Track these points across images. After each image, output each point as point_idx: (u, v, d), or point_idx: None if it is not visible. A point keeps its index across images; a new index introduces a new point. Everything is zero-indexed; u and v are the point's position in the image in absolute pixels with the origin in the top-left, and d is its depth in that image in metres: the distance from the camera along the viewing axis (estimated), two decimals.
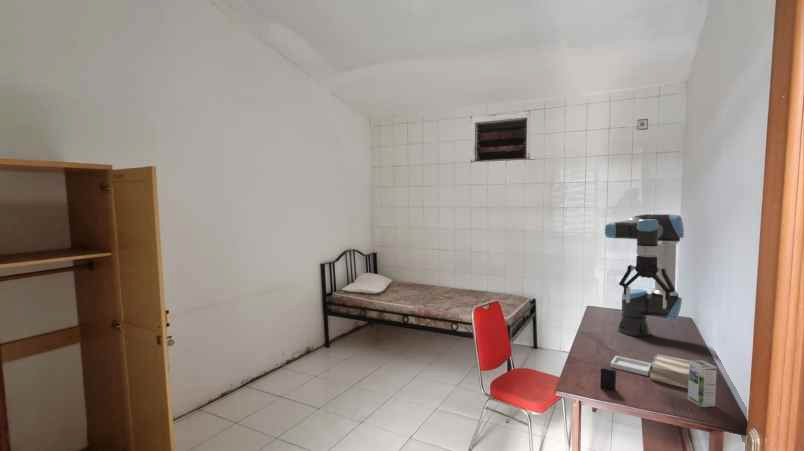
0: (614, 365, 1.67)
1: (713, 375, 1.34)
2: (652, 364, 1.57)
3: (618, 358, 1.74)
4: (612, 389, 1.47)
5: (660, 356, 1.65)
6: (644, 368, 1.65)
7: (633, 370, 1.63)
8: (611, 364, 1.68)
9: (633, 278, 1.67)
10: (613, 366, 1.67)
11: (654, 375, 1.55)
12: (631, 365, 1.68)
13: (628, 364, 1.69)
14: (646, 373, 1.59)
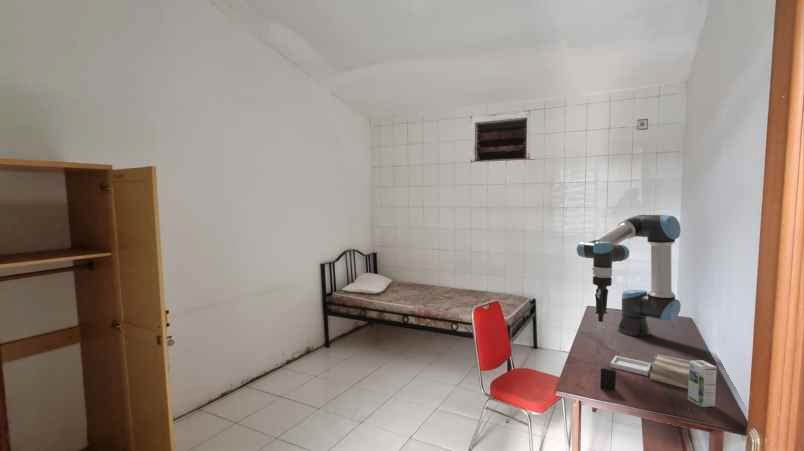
0: (614, 365, 1.67)
1: (713, 375, 1.34)
2: (652, 364, 1.57)
3: (618, 358, 1.74)
4: (612, 389, 1.47)
5: (660, 356, 1.65)
6: (644, 368, 1.65)
7: (633, 370, 1.63)
8: (611, 364, 1.68)
9: None
10: (613, 366, 1.67)
11: (654, 375, 1.55)
12: (631, 365, 1.68)
13: (628, 364, 1.69)
14: (646, 373, 1.59)
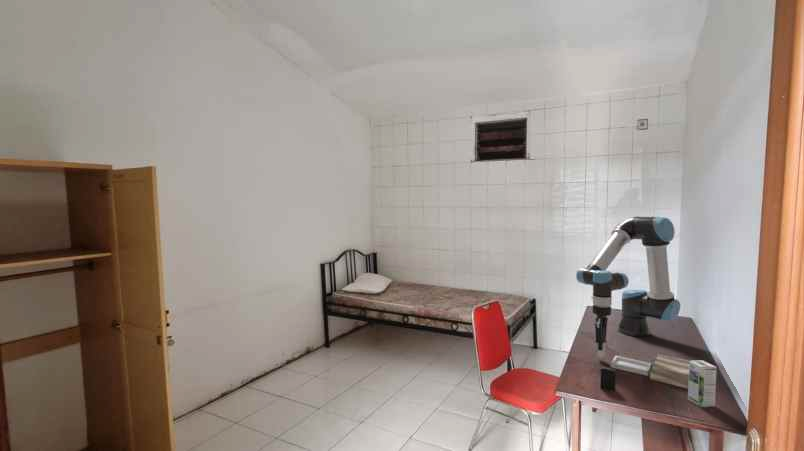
0: (614, 365, 1.67)
1: (713, 375, 1.34)
2: (652, 364, 1.57)
3: (618, 358, 1.74)
4: (612, 389, 1.47)
5: (660, 356, 1.65)
6: (644, 368, 1.65)
7: (633, 370, 1.63)
8: (611, 364, 1.68)
9: None
10: (613, 366, 1.67)
11: (654, 375, 1.55)
12: (631, 365, 1.68)
13: (628, 364, 1.69)
14: (646, 373, 1.59)
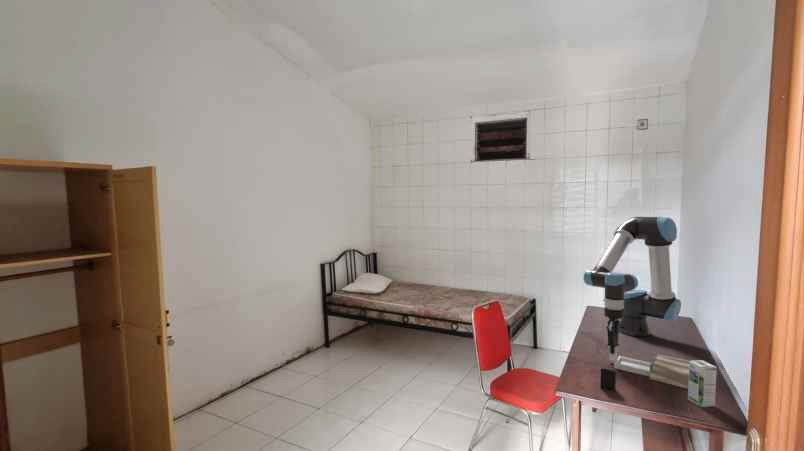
0: (617, 365, 1.66)
1: (713, 375, 1.34)
2: (652, 364, 1.57)
3: (621, 358, 1.73)
4: (612, 389, 1.47)
5: (660, 356, 1.65)
6: (648, 368, 1.64)
7: (637, 370, 1.62)
8: (614, 364, 1.67)
9: None
10: (616, 366, 1.67)
11: (654, 375, 1.55)
12: (635, 365, 1.67)
13: (632, 364, 1.68)
14: None
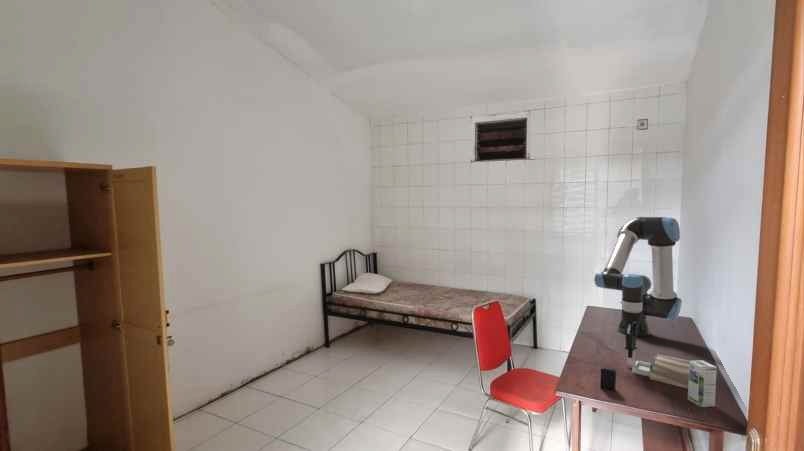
0: (636, 370, 1.62)
1: (713, 375, 1.34)
2: (652, 364, 1.57)
3: (639, 363, 1.69)
4: (612, 389, 1.47)
5: (660, 356, 1.65)
6: None
7: None
8: (633, 369, 1.62)
9: None
10: (635, 371, 1.62)
11: (654, 375, 1.55)
12: None
13: None
14: None
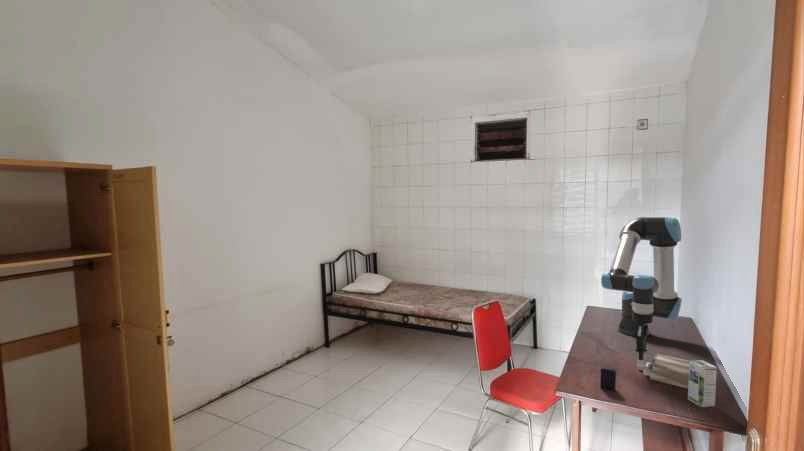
0: (647, 372, 1.59)
1: (713, 375, 1.34)
2: (652, 364, 1.57)
3: None
4: (612, 389, 1.47)
5: (660, 356, 1.65)
6: None
7: None
8: (644, 371, 1.60)
9: None
10: (646, 373, 1.60)
11: (654, 375, 1.55)
12: None
13: None
14: None
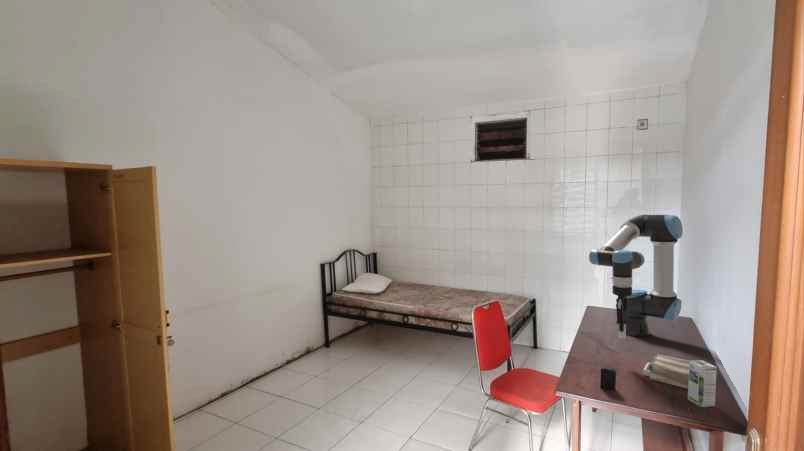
0: (647, 373, 1.59)
1: (713, 375, 1.34)
2: (652, 364, 1.57)
3: None
4: (612, 389, 1.47)
5: (660, 356, 1.65)
6: None
7: None
8: (644, 371, 1.60)
9: None
10: (646, 374, 1.60)
11: (654, 375, 1.55)
12: None
13: None
14: None
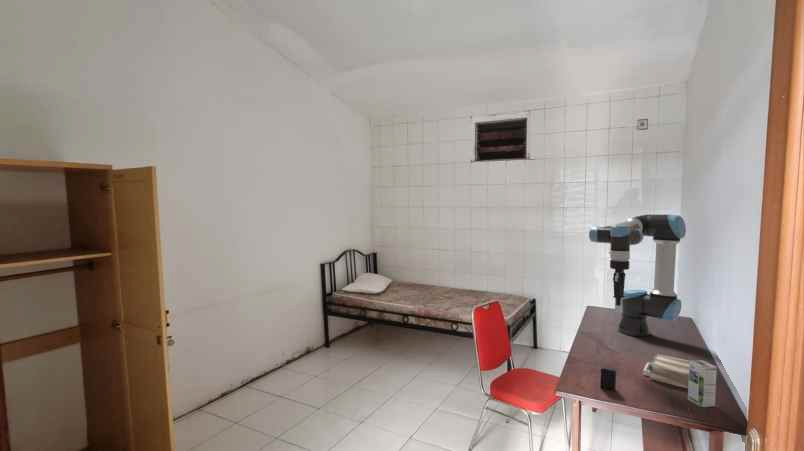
0: (647, 373, 1.59)
1: (713, 375, 1.34)
2: (652, 364, 1.57)
3: None
4: (612, 389, 1.47)
5: (660, 356, 1.65)
6: None
7: None
8: (644, 372, 1.60)
9: None
10: (646, 374, 1.60)
11: (654, 375, 1.55)
12: None
13: None
14: None
